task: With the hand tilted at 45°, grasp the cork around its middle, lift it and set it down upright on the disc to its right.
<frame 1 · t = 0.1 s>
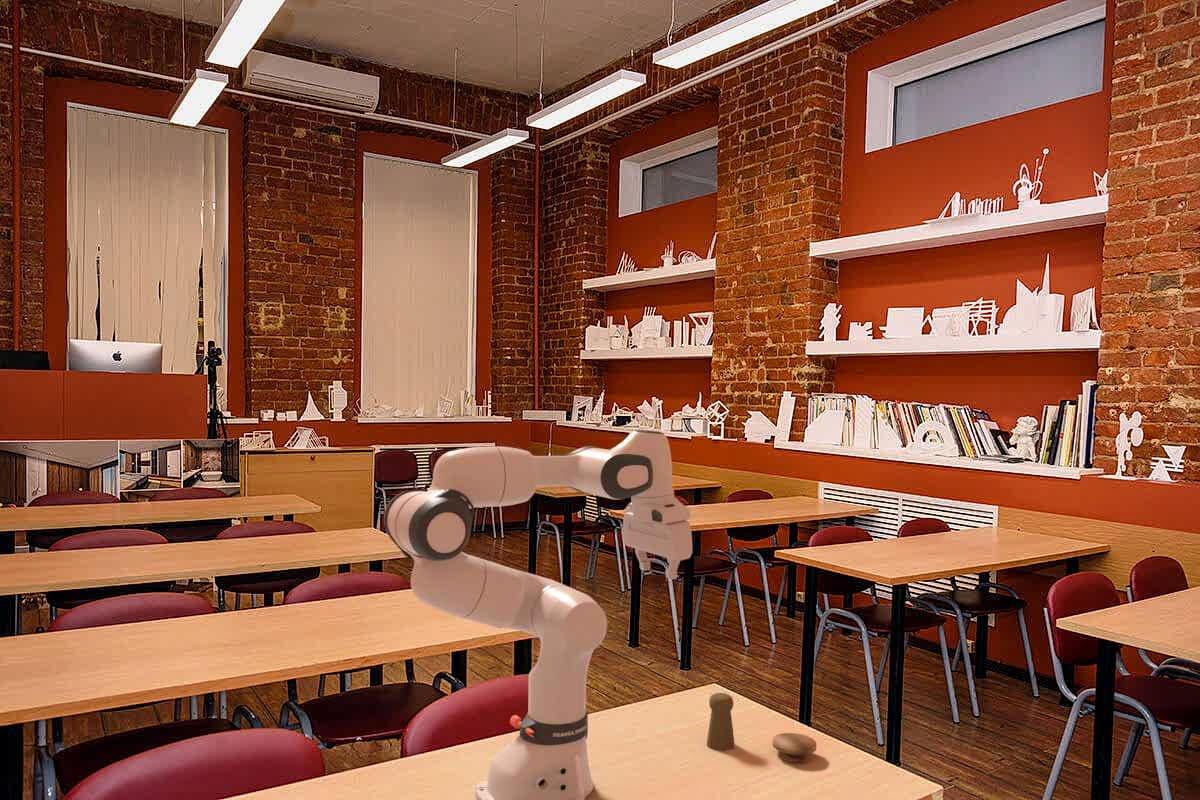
hand: (658, 574, 178), 39 cm above the table, tool pointing down, fingers open, 8 cm apart
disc: (794, 756, 181), on the table
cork: (720, 746, 187), on the table
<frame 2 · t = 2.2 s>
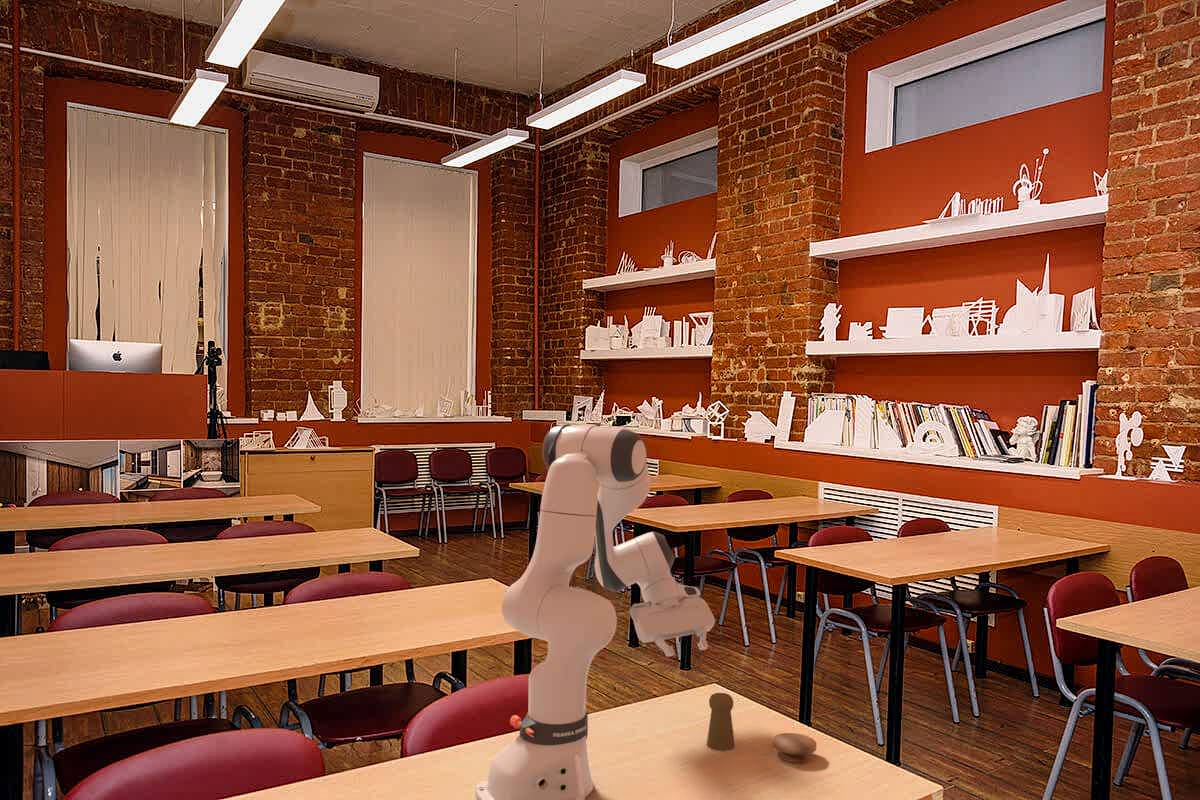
hand: (688, 651, 197), 17 cm above the table, tool tilted 45°, fingers open, 8 cm apart
nothing on the table moved.
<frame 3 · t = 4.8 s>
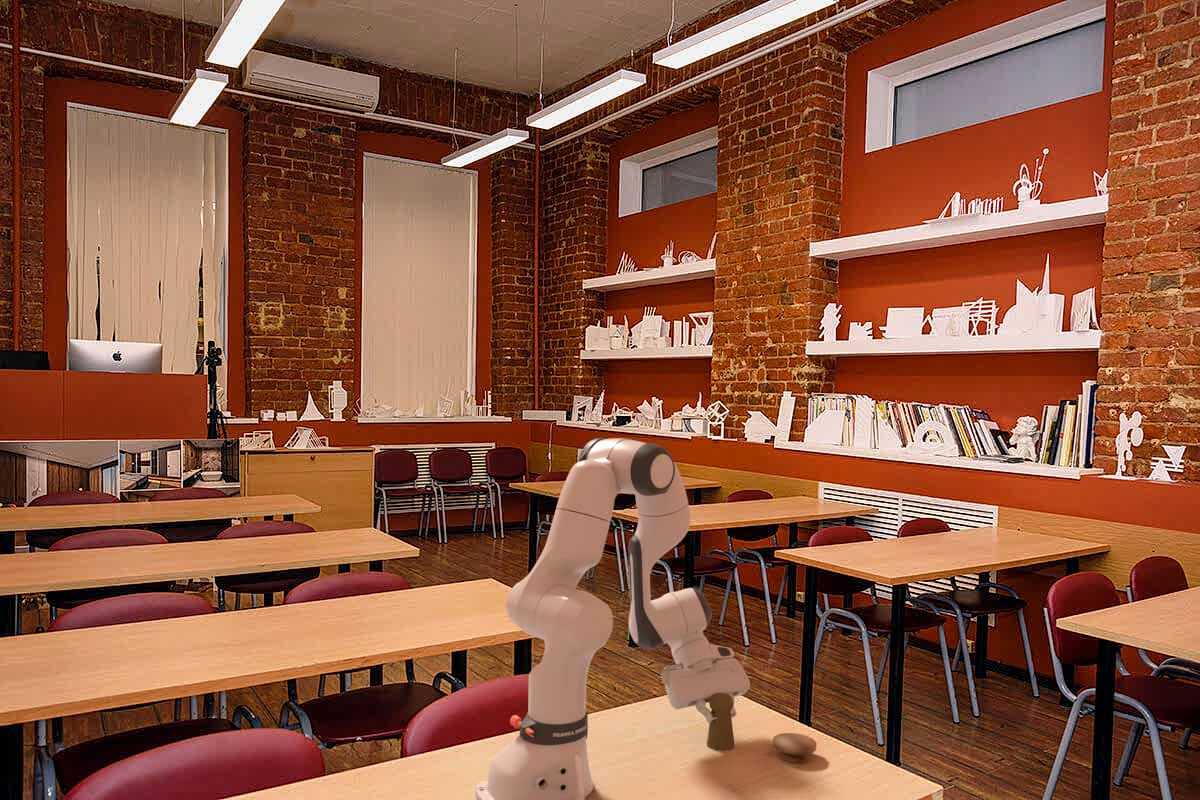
hand: (722, 718, 186), 6 cm above the table, tool tilted 45°, fingers closed on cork, 4 cm apart
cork: (720, 745, 187), on the table, touching gripper
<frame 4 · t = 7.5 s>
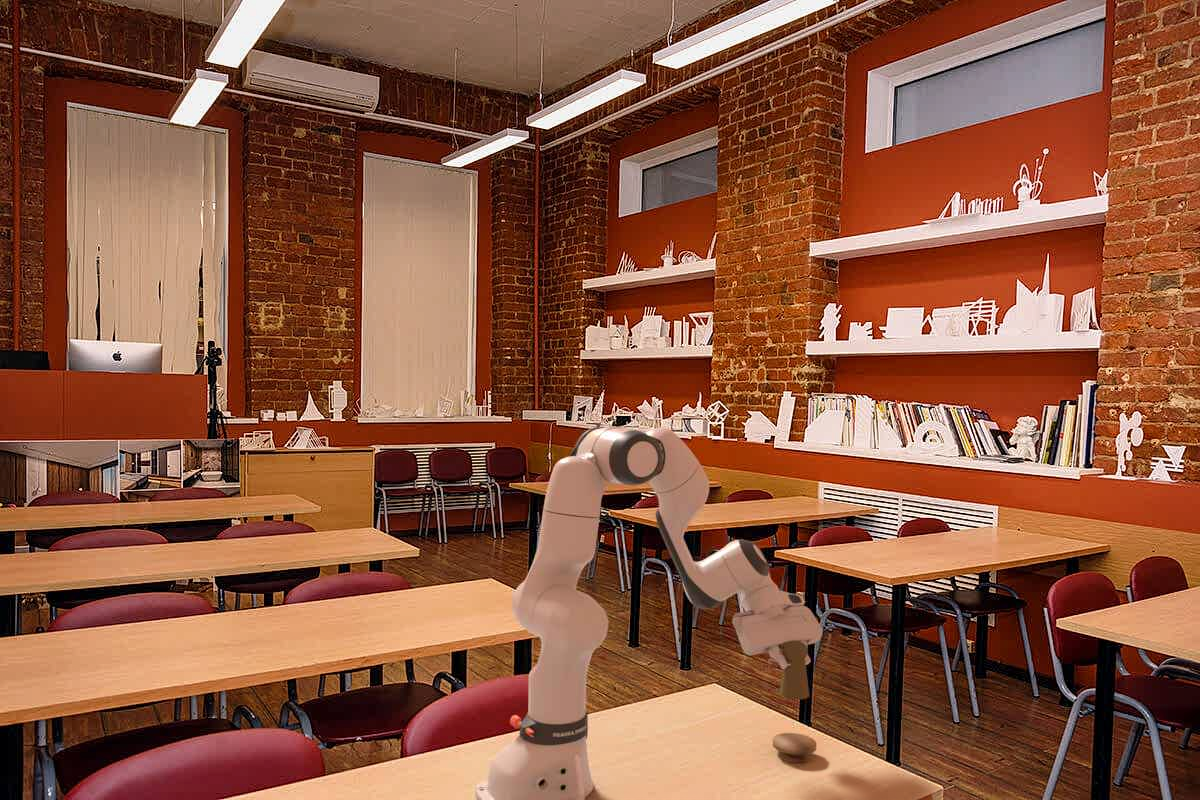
hand: (797, 665, 181), 19 cm above the table, tool tilted 45°, fingers closed on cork, 4 cm apart
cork: (794, 695, 181), point 13 cm above the table, touching gripper
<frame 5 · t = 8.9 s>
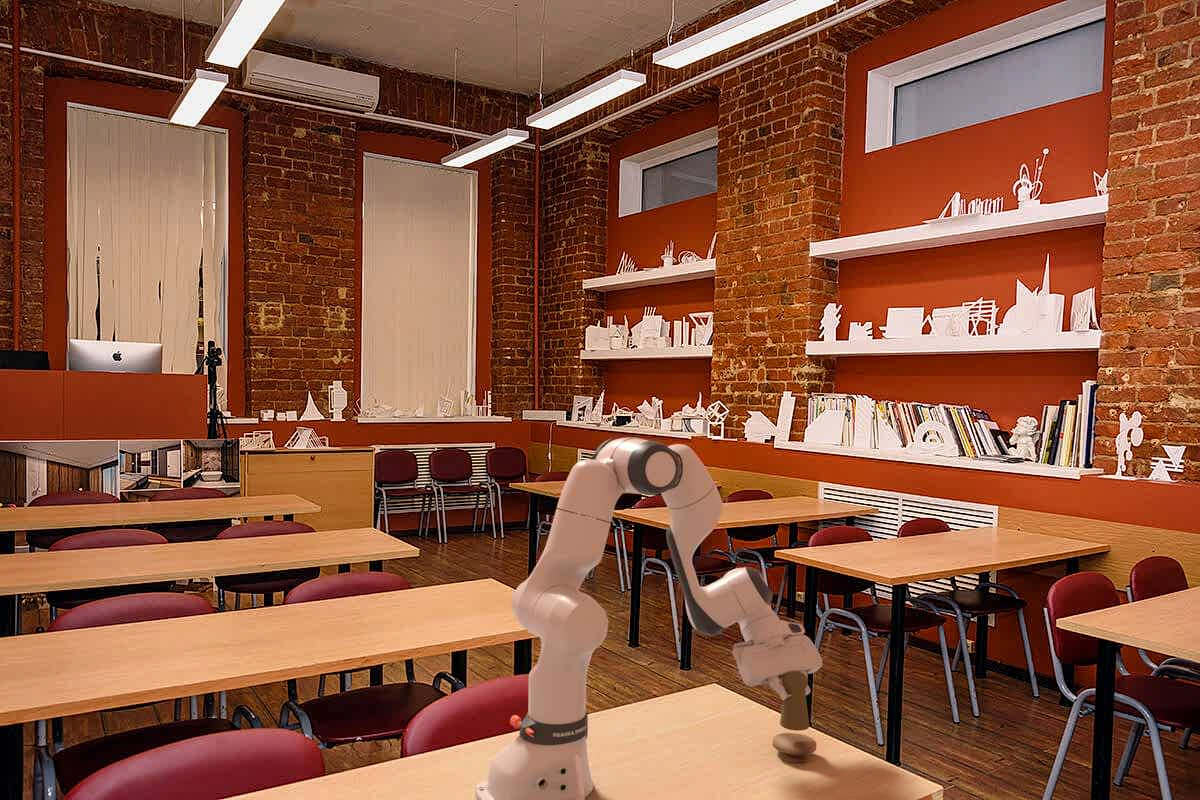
hand: (797, 696, 181), 13 cm above the table, tool tilted 45°, fingers closed on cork, 4 cm apart
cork: (794, 725, 181), point 6 cm above the table, touching gripper
when the fingers open (10 cm above the table, at t = 10.0 s): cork stays where it is, resting on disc.
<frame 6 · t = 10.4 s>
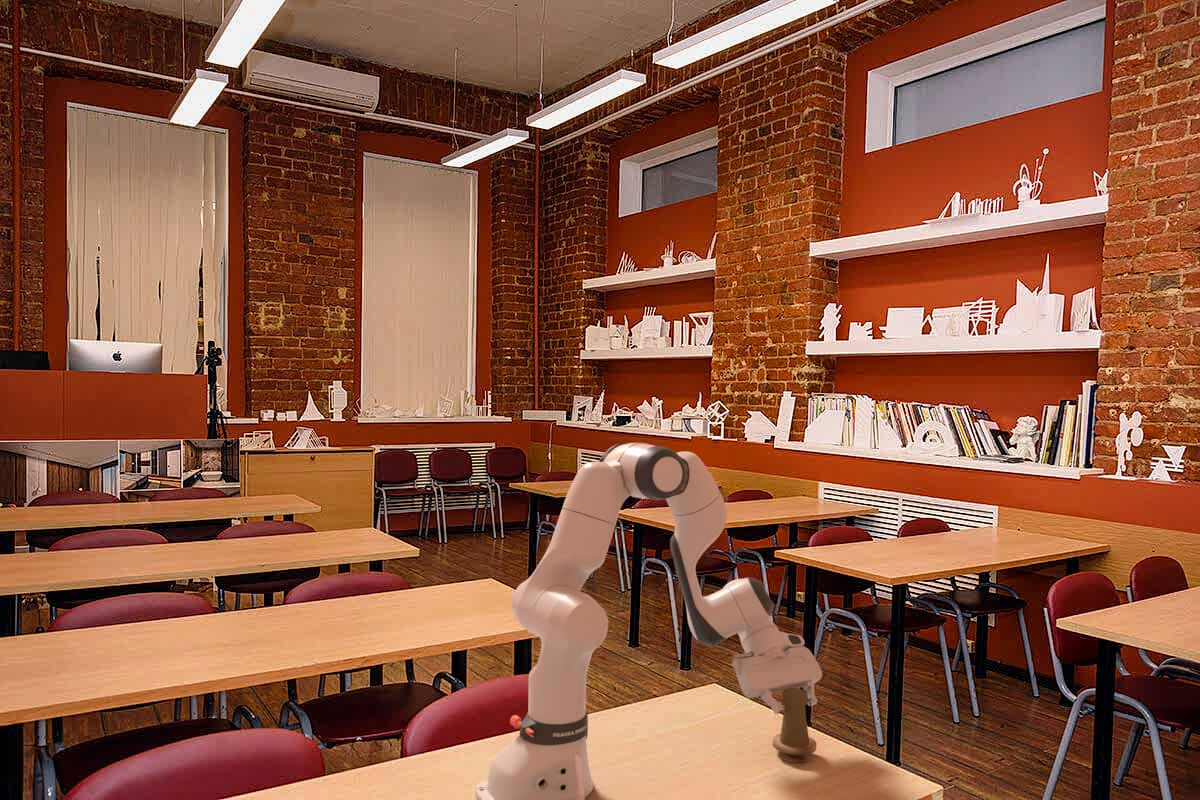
hand: (796, 708, 181), 10 cm above the table, tool tilted 45°, fingers open, 8 cm apart
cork: (794, 742, 181), point 3 cm above the table, touching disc
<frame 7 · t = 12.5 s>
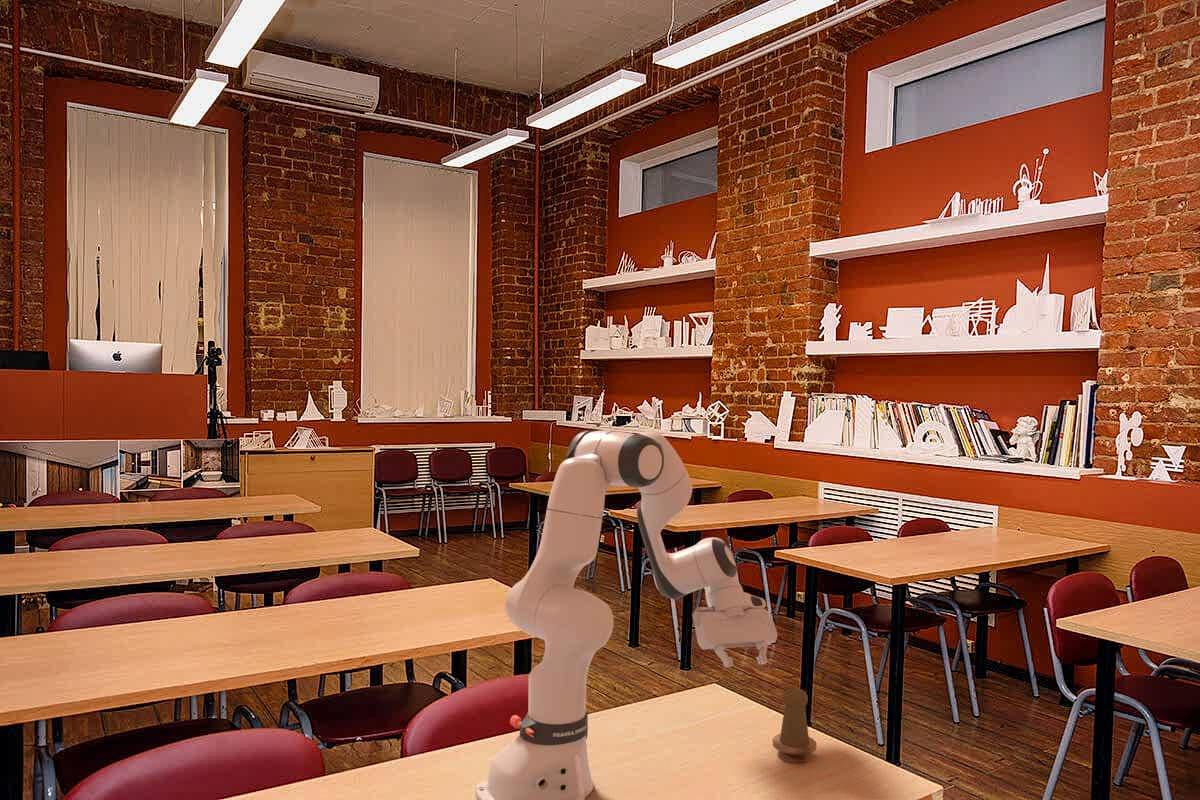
hand: (746, 664, 192), 16 cm above the table, tool tilted 35°, fingers open, 8 cm apart
nothing on the table moved.
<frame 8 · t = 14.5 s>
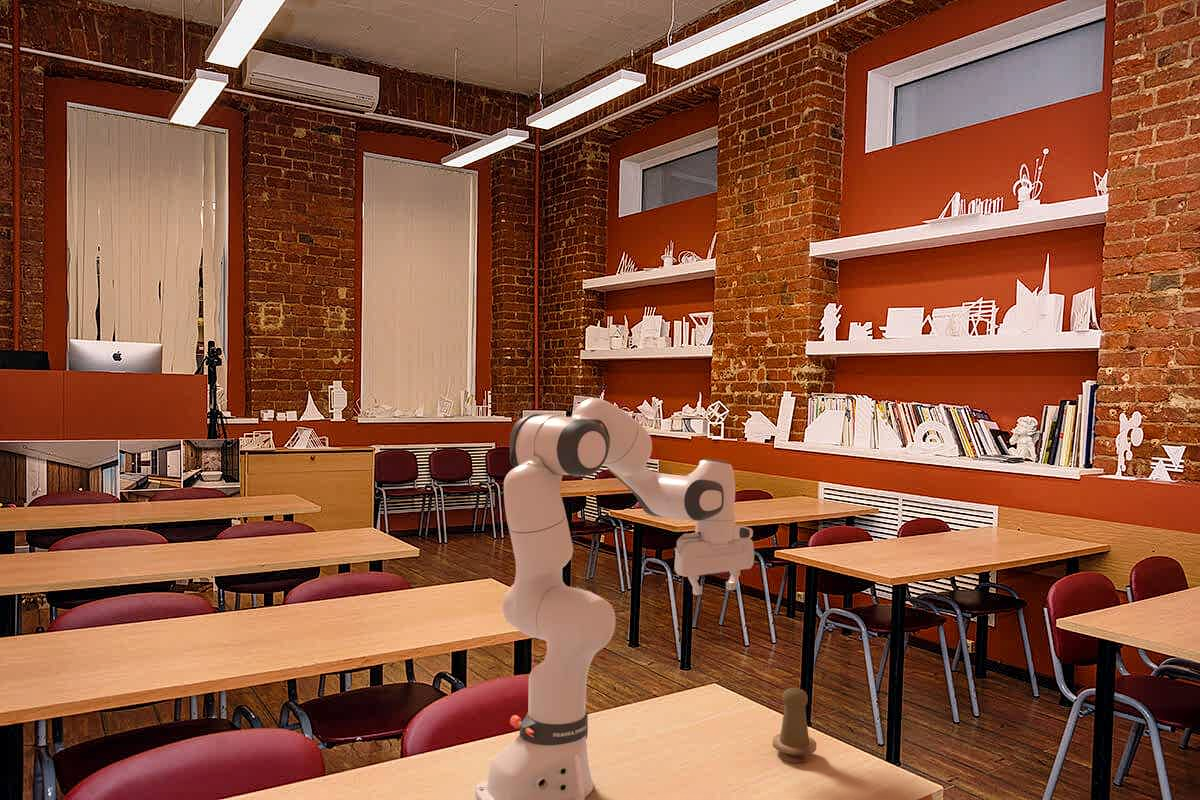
hand: (714, 591, 195), 31 cm above the table, tool pointing down, fingers open, 8 cm apart
nothing on the table moved.
at the end: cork 0.1 cm from the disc (horizontally); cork tilted 0°; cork touching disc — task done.
